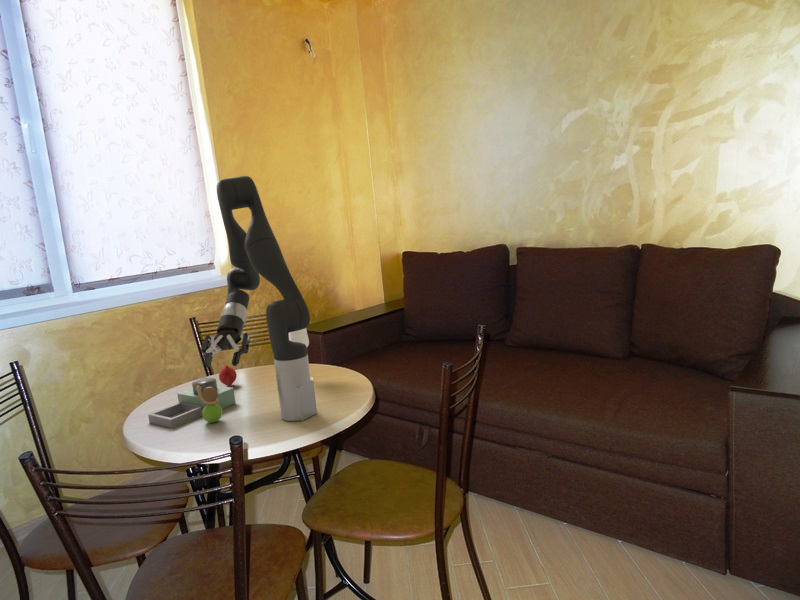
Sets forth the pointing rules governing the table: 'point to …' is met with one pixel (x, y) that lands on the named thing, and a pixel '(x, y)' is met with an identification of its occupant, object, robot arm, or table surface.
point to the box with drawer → (191, 404)
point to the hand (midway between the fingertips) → (220, 365)
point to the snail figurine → (210, 404)
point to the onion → (227, 375)
